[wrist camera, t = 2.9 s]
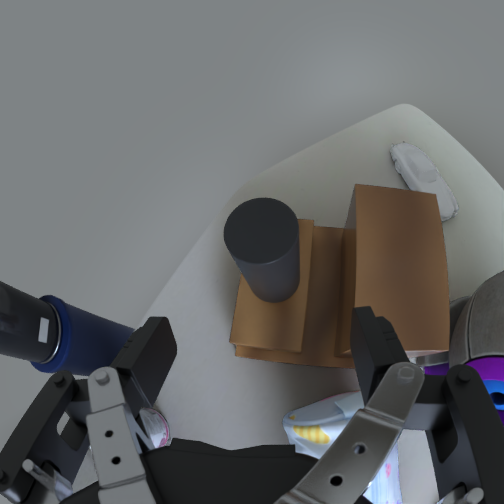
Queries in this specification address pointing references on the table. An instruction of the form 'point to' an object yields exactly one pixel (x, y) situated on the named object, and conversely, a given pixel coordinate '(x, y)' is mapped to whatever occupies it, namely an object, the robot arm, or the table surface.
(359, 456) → the robot arm
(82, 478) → the table surface
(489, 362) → the webcam
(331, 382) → the table surface
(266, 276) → the black canister
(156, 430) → the pill bottle
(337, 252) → the step shelf
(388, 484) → the pencil case
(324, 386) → the table surface
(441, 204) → the toy car
